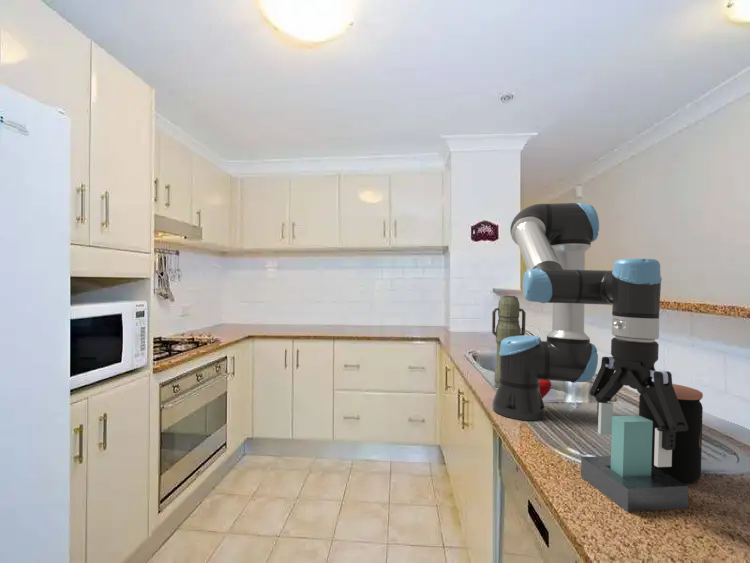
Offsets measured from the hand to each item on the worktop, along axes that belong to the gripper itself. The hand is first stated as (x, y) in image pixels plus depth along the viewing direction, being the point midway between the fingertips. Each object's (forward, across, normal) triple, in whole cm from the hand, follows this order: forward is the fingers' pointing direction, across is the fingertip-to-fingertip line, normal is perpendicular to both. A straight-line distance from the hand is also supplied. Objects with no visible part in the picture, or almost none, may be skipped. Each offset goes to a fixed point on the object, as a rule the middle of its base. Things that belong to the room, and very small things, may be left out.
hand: (631, 448), depth 72 cm
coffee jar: (+8, -6, +14) cm, 18 cm away
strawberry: (+9, -56, +16) cm, 59 cm away
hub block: (+8, 0, 0) cm, 8 cm away
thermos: (+9, -69, +10) cm, 70 cm away
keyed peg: (+8, 0, 0) cm, 8 cm away
